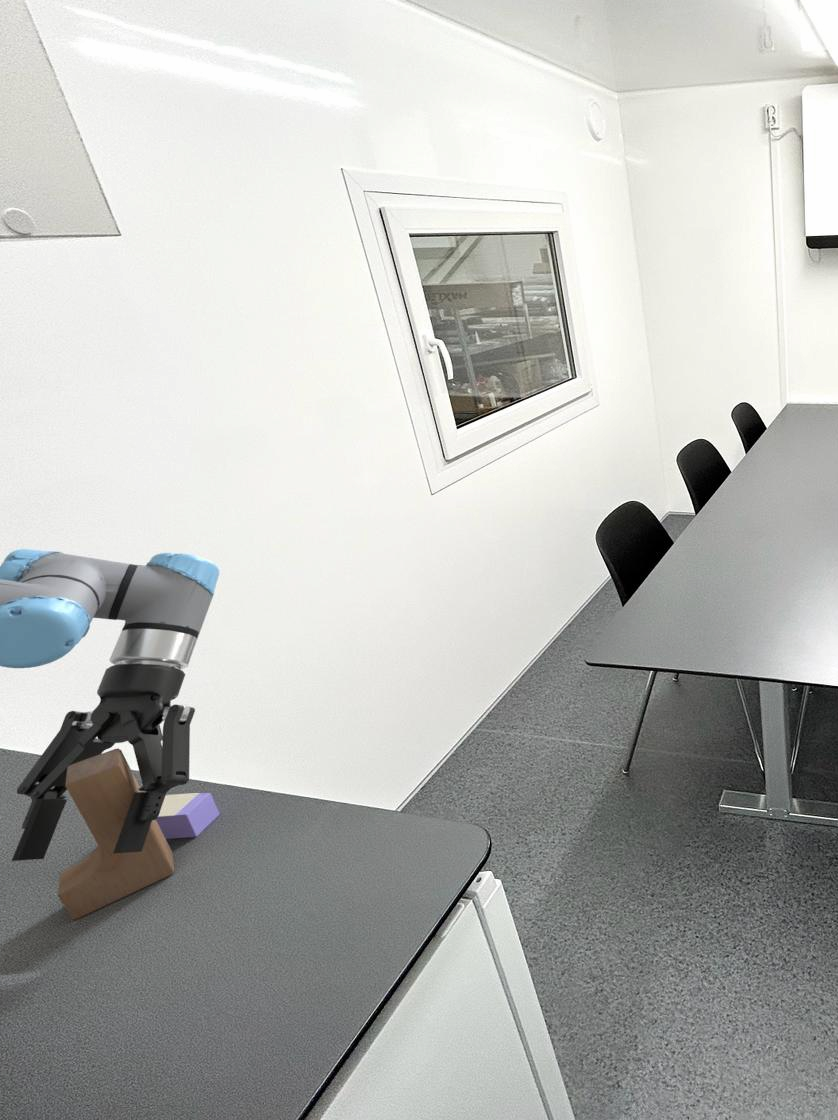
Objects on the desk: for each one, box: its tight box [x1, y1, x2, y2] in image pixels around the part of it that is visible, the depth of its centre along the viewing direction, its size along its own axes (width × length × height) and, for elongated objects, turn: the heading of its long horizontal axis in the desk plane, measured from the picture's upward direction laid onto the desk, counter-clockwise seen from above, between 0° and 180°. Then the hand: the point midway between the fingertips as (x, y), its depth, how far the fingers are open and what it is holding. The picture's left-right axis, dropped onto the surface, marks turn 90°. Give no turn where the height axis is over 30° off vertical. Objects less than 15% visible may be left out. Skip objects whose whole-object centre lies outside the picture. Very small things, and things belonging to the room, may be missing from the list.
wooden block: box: [57, 748, 175, 920], centre depth 76 cm, size 9×4×18 cm, turn 136°
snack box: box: [156, 792, 221, 840], centre depth 87 cm, size 10×4×4 cm, turn 94°
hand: (77, 856), depth 73 cm, fingers open, 10 cm apart
